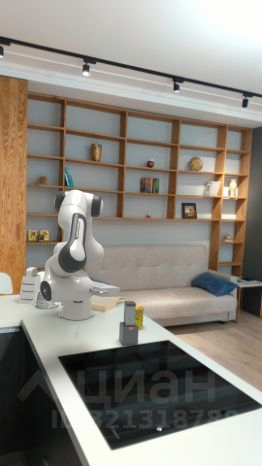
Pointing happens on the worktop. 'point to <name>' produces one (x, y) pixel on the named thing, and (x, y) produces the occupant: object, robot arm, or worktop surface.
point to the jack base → (128, 335)
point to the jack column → (129, 313)
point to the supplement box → (139, 316)
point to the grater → (30, 286)
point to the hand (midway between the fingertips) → (111, 287)
